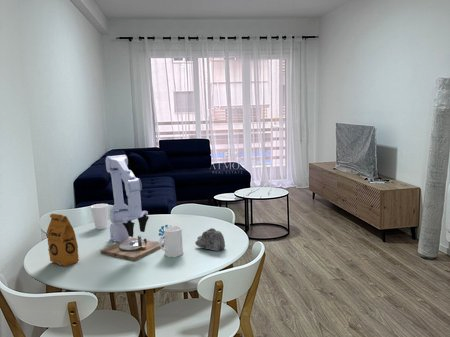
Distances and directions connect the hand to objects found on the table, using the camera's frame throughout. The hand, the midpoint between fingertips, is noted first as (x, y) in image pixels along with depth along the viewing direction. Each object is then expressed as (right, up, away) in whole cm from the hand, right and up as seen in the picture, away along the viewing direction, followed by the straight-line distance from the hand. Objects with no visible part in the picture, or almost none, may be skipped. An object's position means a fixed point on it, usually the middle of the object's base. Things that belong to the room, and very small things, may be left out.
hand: (136, 234), depth 181 cm
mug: (+16, -9, -1) cm, 19 cm away
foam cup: (-31, -4, +45) cm, 55 cm away
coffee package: (-31, -12, -5) cm, 34 cm away
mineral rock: (+34, -8, +5) cm, 35 cm away
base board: (-4, -9, +7) cm, 12 cm away
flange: (-3, -7, +6) cm, 10 cm away
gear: (+13, -7, +18) cm, 23 cm away
